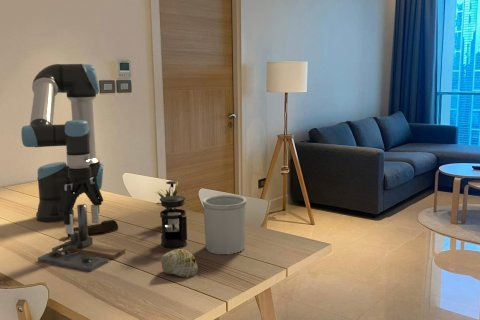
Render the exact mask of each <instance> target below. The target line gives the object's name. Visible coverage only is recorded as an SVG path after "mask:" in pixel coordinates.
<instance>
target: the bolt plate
mask: <svg viewBox="0 0 480 320" xmlns="http://www.w3.org/2000/svg"><path fill="white" fill-rule="evenodd" d="M37 262H41V263H46V264H51V265H57V266H61V267H65V268H66V267H67V268H71V269H77V270H80V271H87V272H93V271H95V270H97V269H98V268H101V267H103V266H104V265H106V264H108V263H109V258H103V257H98V256H92V255H86V254H81V253H75V252H70V251H67V252H65V254H64V255H61V249H59V250H56V252H55V253H54V254H53V253H52V251H50V252H48V253H46V254H44V255H41V256H39V257H37Z"/></svg>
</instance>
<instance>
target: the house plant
mask: <svg viewBox="0 0 480 320" xmlns="http://www.w3.org/2000/svg"><path fill="white" fill-rule="evenodd" d="M171 189H172V187H171V185H170V186H169V188H168V190H167V189H165V191H166V193H165V192H164V191H163V190H162V189H161V191H162V192H163V193H164V194H162V192H161V191H159V190H158V191H155V192H154V193H155V194H156V193H157V194H156V195H158V196H159V197H160V198H162V197H166V196H171V194H172V191H171ZM178 191H179V187H177V188H176V189H174V190H173V196H181V195H182V193H184V192H185V190H183V191H182V192H180V193H178ZM185 200H187V198H186V197H185ZM155 205H157V207H159V206H161V202H156V203H155ZM184 205H185V206H186V205H187V204H186V202H184ZM164 208H165V209H162V210H161V211H163V210H167V209H172V208H168V207H164ZM173 209H177V207H173ZM173 213H174V215H180V213H178V212H173ZM163 215H164V214H163ZM168 215H169V216H173V214H172V213H168ZM168 224H173V219H168ZM174 224H179V219H174Z"/></svg>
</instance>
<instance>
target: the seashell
mask: <svg viewBox="0 0 480 320" xmlns="http://www.w3.org/2000/svg"><path fill="white" fill-rule="evenodd" d="M160 261H161V268H162V271H163V272H164V273H166V274H167V275H175V276H178V277H181V278H191V277H195V276H196V275H197V274H198V268H199V267H198V262H197V259H196V257H195V256H194V255H193V254H192V253H191V252H190V251H188V250H186V249H184V248H183V249H182V248H178V249H171V250H170V251H169V252H166V253H165V254H163V255H162V256H161V260H160Z"/></svg>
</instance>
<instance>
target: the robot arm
mask: <svg viewBox="0 0 480 320" xmlns="http://www.w3.org/2000/svg"><path fill="white" fill-rule="evenodd" d="M98 82H99V81H98V77H97V72H96V68H95V66H94V65H93V64H89V63H88V64H87V63H62V64H61V63H55V64H51V65H48V66H45V67H44V68H43V69H41V70H40V71H39V72H38V73H37V74H36V76H35V77H34V79H33V81H32V85H31V90H32V92H33V99H32V104H31V105H32V106H31V114H30V121H29V124H28V125H23V126H22V128H21V134H20V135H21V141H22V145H23V147H25V148H44V147H45V148H46V147H66V148H65V149H66V162H65V161H62V162H61V161H59V162H51V163H48V164H44V165H41V166H39V168H37V182H38V183H37V184H38V185H37V186H38V197H39V203H38V206H37V212H36V213H35V218H36V221H38V222H42V223H55V222H62V221H63V223H64V227H65V234H74V229H73V228H74V215H75V210H74V207H75V204H76V201H77V200H78V198H79V197H80V195H83V194H85V195H86V197H87V198H88V200H89V201H90V202H91V203H92V204H91V205H90V210H91V211H90V213H91V224H100V206H101V205H102V204H103V202H104V198H103V196H102V192H101V189H102V186H103V177H104V176H103V175H104V163H101V162H100V161H101V159H100V158H98V157H97V154H96V142H95V140H96V139H95V120H94V104H93V101H94V100H95V99H96V97H97V93H100V87H99V83H98ZM60 93H61V94H66V98H67V99H68V100H69V101H70V106H71V119H72V120H66V121H65V123H64V124H54V114H55V100H56V98H55V97H56V96H57V95H58V94H60Z"/></svg>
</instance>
